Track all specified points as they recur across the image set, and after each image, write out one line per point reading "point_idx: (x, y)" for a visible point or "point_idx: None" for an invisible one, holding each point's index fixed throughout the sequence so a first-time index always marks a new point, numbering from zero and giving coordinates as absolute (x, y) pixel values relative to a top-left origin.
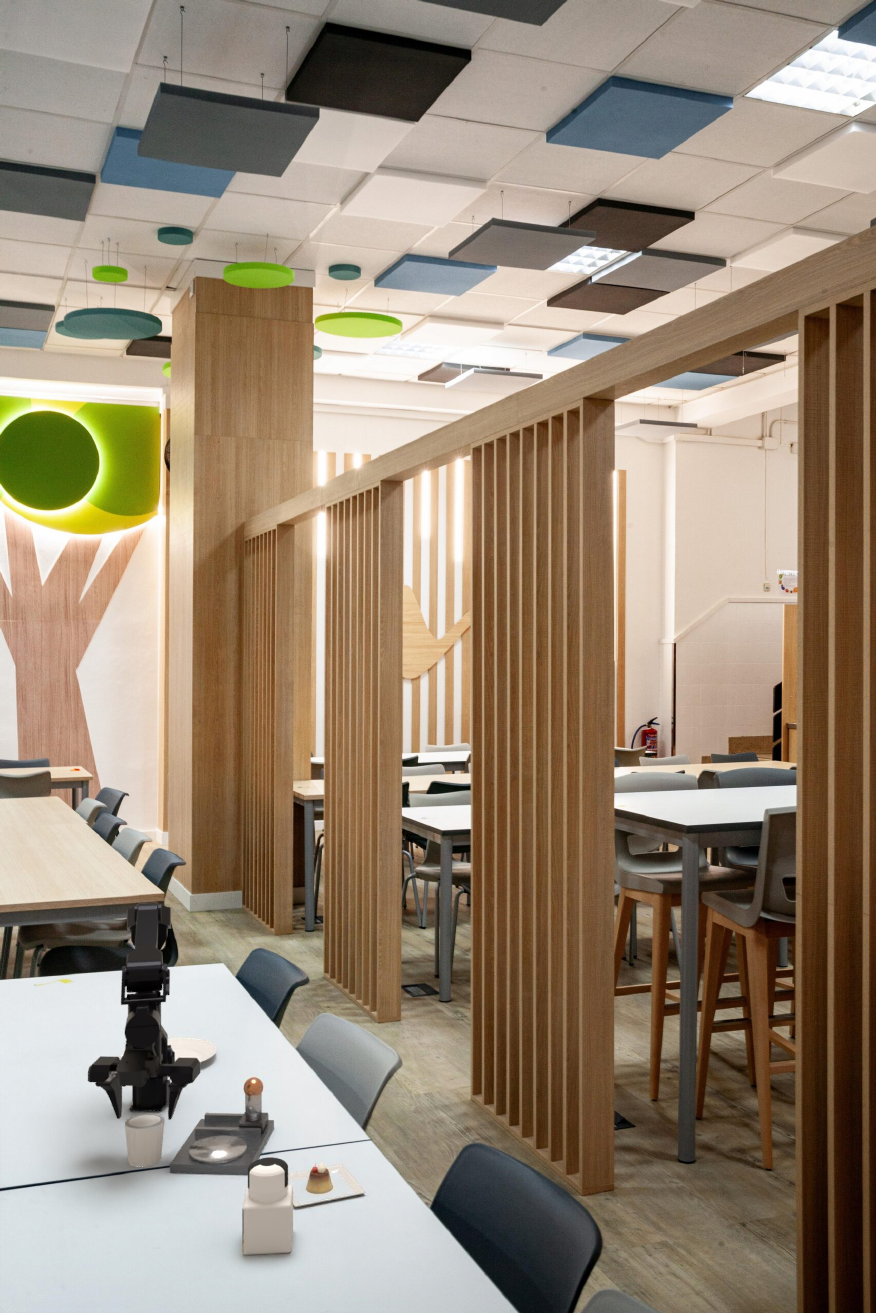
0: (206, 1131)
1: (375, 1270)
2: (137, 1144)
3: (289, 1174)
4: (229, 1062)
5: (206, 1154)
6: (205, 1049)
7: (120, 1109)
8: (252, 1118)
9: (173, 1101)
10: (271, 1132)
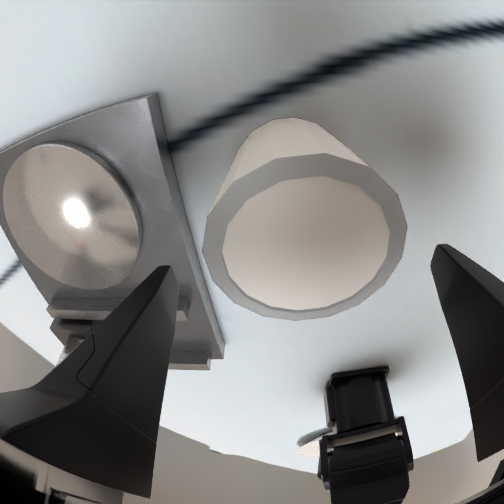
0: None
1: None
2: (303, 132)
3: None
4: (278, 442)
5: (55, 174)
6: (313, 450)
7: (448, 285)
8: (71, 340)
9: (95, 338)
10: None
